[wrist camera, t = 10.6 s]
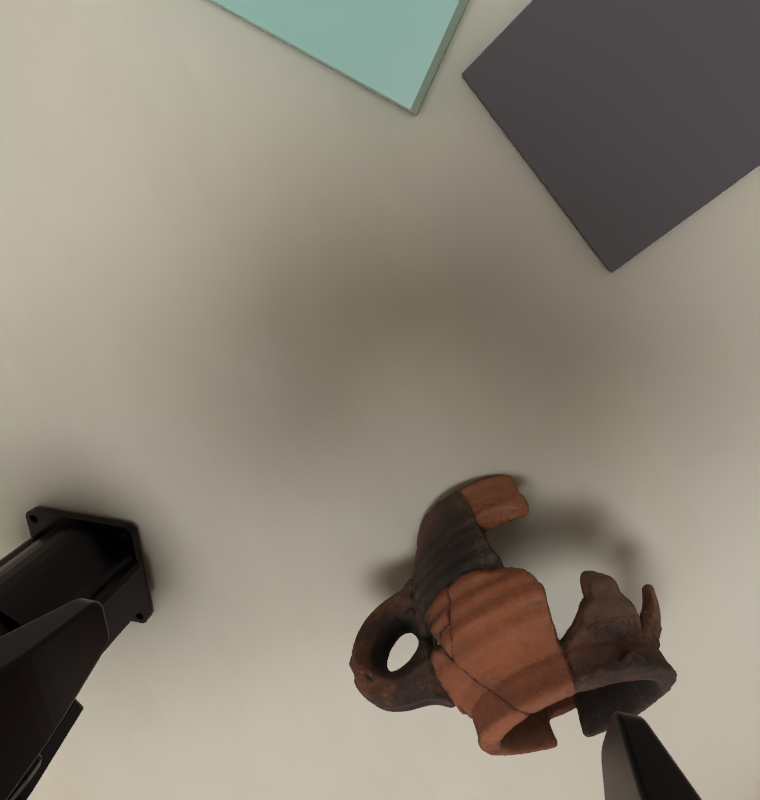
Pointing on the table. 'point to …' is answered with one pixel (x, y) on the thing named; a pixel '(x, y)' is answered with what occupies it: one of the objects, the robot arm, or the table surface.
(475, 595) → the pottery mug
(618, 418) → the table surface
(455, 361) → the table surface
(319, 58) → the teal base plate
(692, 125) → the mat
